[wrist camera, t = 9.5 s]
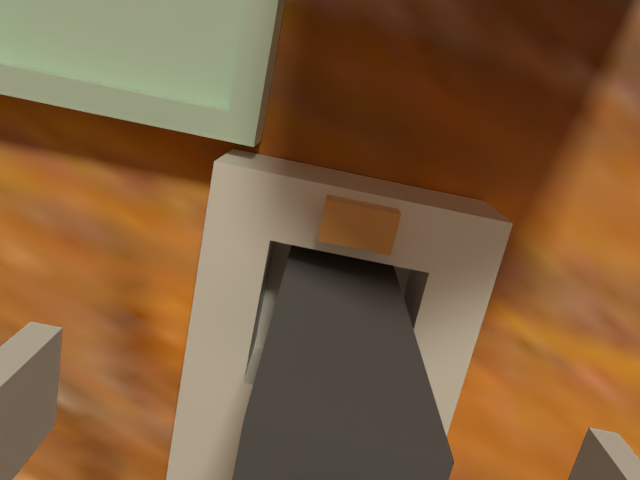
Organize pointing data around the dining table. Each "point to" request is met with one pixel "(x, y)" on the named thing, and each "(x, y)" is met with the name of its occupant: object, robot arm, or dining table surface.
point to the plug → (341, 381)
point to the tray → (146, 60)
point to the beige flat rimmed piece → (334, 237)
